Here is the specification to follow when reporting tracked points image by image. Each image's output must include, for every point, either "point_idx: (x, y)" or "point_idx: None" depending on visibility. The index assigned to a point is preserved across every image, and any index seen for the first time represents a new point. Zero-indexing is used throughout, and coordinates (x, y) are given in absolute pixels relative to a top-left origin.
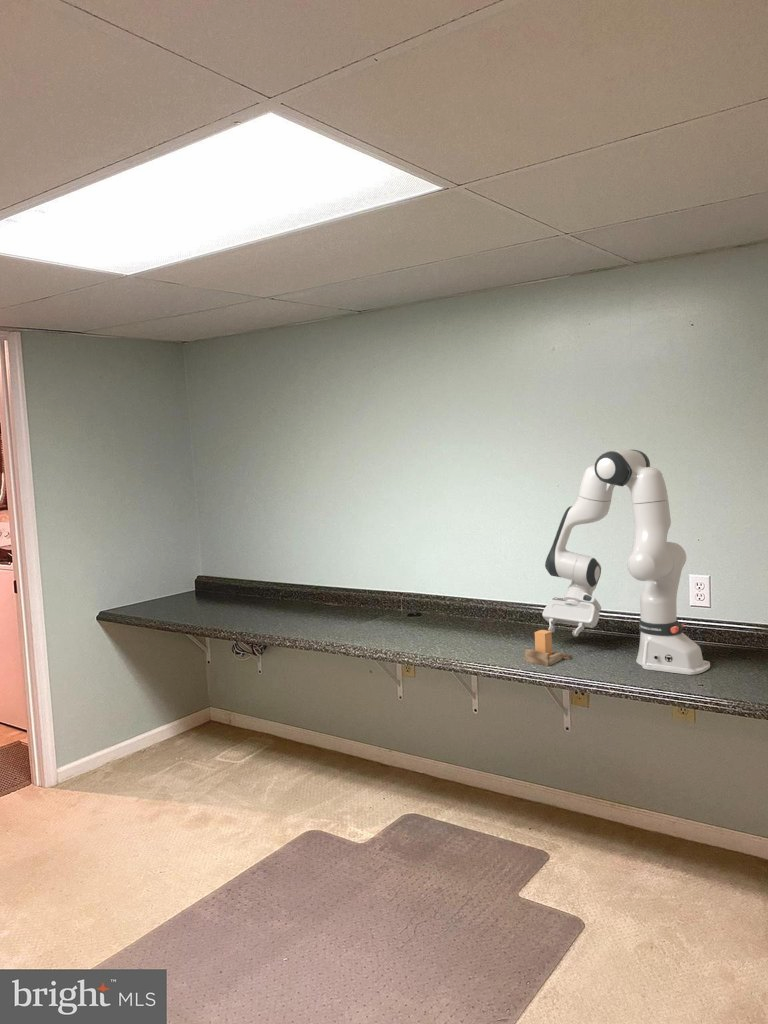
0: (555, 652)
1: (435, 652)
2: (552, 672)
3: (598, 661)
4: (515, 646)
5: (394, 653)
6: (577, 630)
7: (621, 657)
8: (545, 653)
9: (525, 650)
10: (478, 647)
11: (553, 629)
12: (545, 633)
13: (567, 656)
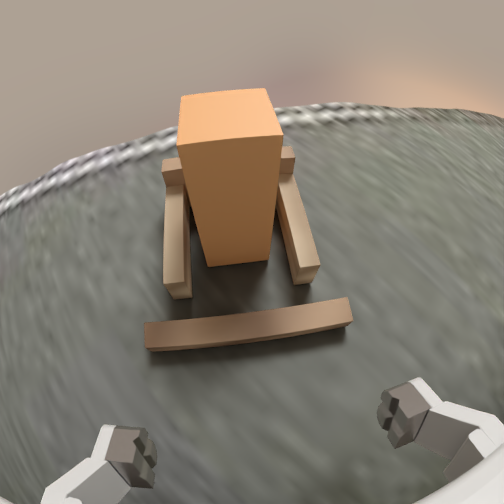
0: (246, 332)
1: (479, 141)
2: (129, 172)
3: (47, 390)
4: (480, 314)
5: (483, 115)
6: (96, 463)
7: (26, 482)
8: (176, 161)
9: (288, 148)
10: (500, 219)
11: (393, 421)
12: (182, 100)
13: (152, 323)
